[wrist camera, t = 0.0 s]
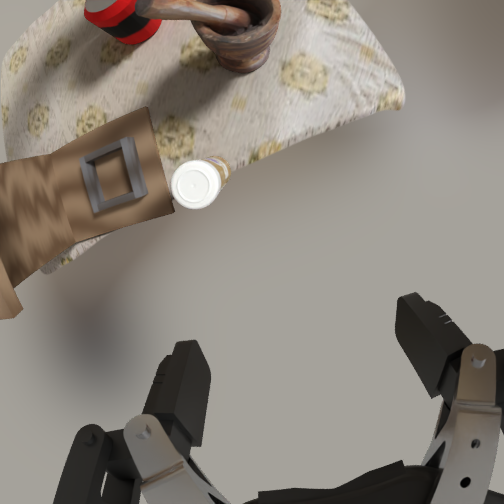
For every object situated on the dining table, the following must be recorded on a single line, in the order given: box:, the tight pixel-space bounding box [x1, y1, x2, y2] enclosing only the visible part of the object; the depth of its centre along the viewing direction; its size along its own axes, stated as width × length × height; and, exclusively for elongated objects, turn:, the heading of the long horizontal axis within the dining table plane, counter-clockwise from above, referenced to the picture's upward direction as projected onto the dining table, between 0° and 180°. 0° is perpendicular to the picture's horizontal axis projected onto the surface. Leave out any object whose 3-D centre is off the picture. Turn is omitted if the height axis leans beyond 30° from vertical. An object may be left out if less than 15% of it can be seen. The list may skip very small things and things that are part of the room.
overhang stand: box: [0, 107, 175, 320], centre depth 24 cm, size 16×21×26 cm
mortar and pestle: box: [135, 0, 281, 73], centre depth 20 cm, size 12×9×20 cm
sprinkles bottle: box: [171, 156, 231, 209], centre depth 29 cm, size 5×5×14 cm
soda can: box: [84, 0, 162, 44], centre depth 21 cm, size 8×8×12 cm
